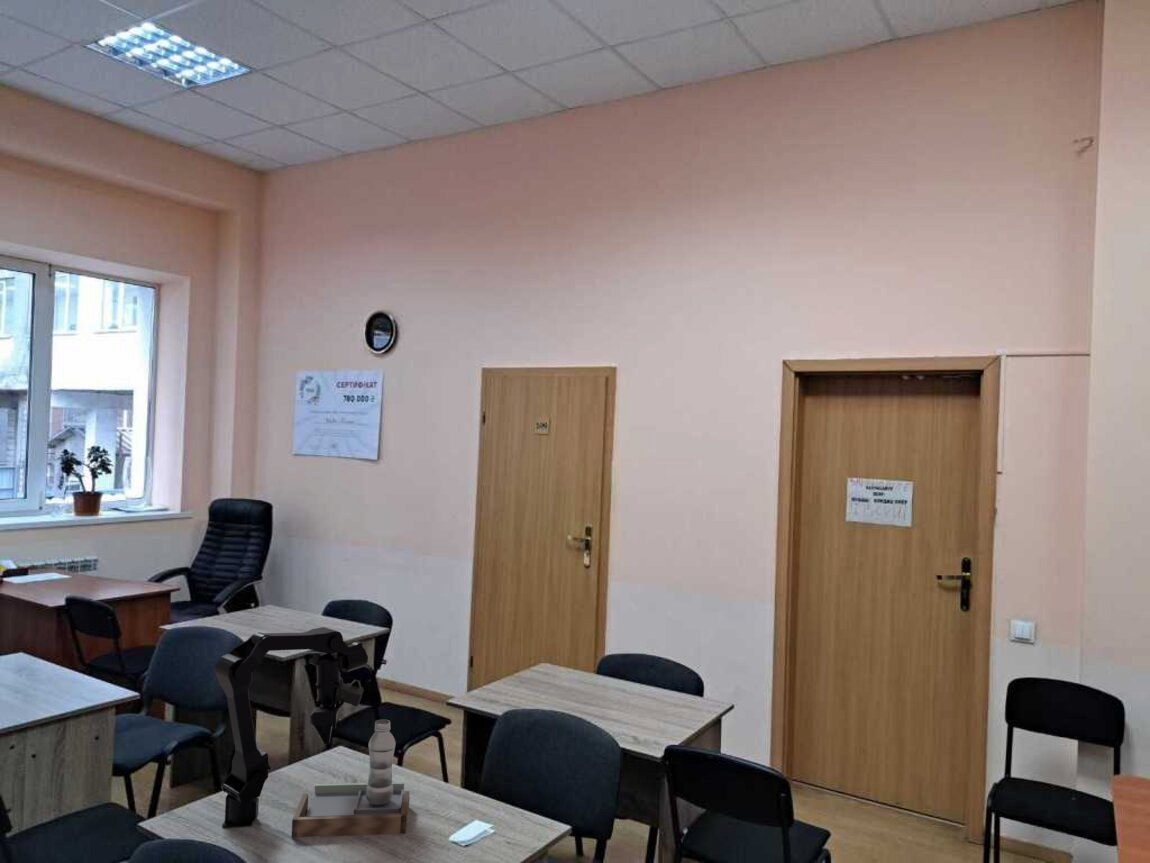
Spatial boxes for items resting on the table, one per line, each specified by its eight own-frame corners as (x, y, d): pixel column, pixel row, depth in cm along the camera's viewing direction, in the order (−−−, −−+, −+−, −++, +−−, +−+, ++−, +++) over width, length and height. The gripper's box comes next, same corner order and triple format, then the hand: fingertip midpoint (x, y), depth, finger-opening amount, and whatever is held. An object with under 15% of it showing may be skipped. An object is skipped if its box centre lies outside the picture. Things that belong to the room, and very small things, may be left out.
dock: (291, 837, 181) (292, 819, 181) (302, 810, 194) (303, 793, 194) (405, 833, 185) (406, 816, 185) (408, 807, 198) (409, 791, 198)
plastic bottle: (373, 795, 202) (376, 716, 202) (397, 799, 200) (401, 719, 200) (360, 806, 195) (363, 724, 195) (385, 810, 194) (389, 728, 194)
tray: (305, 819, 189) (306, 808, 189) (315, 795, 202) (315, 784, 202) (400, 817, 193) (400, 805, 193) (403, 792, 205) (404, 781, 205)
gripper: (355, 688, 198) (357, 750, 198) (365, 663, 216) (366, 719, 217) (309, 691, 196) (310, 753, 197) (322, 665, 215) (324, 722, 215)
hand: (330, 736), depth 207 cm, fingers open, 9 cm apart
